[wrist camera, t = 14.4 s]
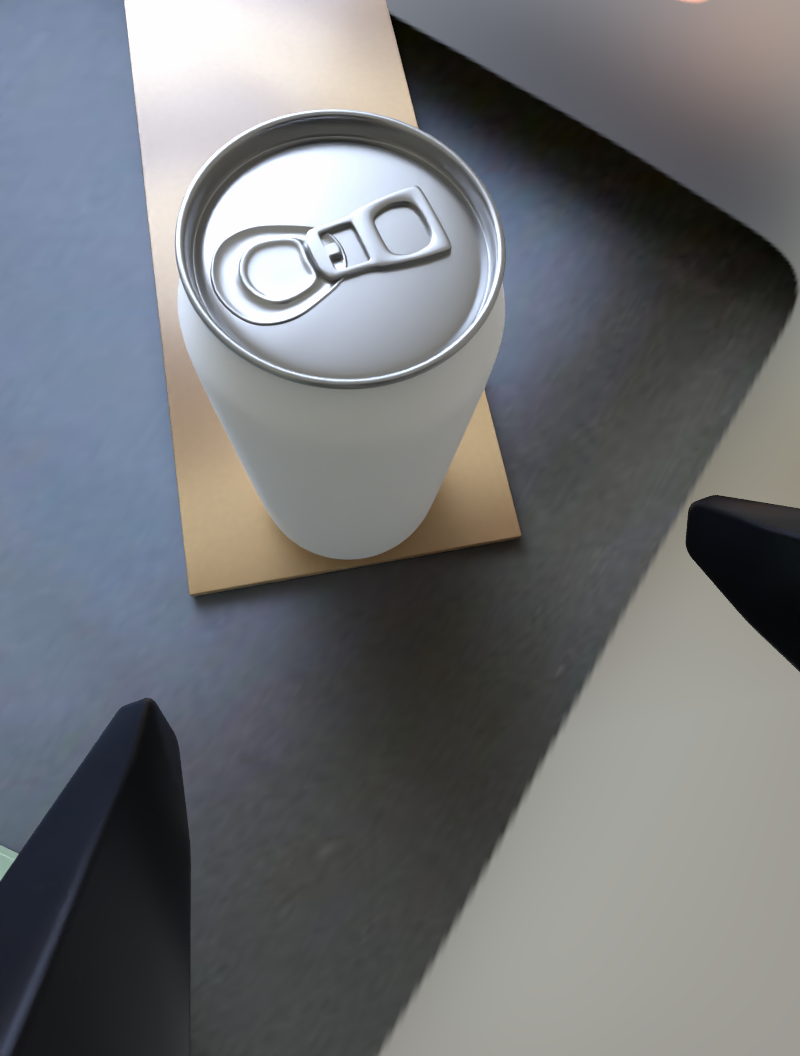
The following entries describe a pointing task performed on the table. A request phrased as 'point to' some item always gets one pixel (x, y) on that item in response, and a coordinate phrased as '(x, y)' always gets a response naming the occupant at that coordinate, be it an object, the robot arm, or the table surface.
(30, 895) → the robot arm
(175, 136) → the tan flat long board
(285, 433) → the can
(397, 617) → the table surface
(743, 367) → the table surface
